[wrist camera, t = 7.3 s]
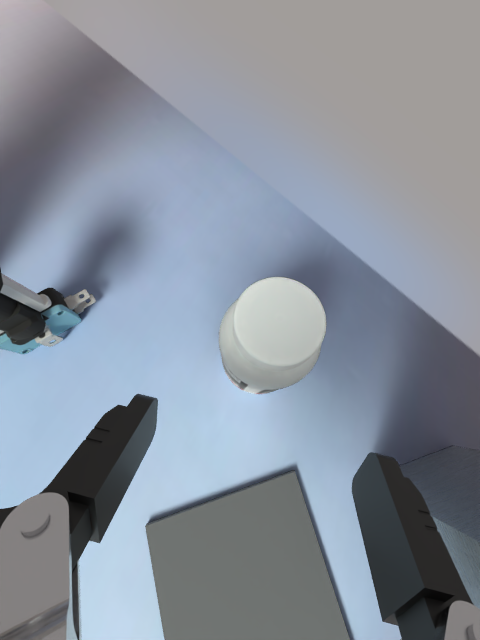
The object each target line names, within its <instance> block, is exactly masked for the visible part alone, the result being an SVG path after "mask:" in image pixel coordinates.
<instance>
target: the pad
mask: <svg viewBox="0 0 480 640" xmlns="http://www.w3.org/2000/svg"><path fill="white" fill-rule="evenodd" d="M145 527H146V533H147V539H148V545H149V550H150V556H151V562H152V568H153V574H154V580H155V586H156V592H157V597H158V603H159V609H160V615H161V621H162V627H163V633H164V639H165V640H350V638H349V635H348V632H347V629H346V626H345V623H344V620H343V617H342V614H341V611H340V608H339V605H338V601H337V598H336V595H335V592H334V589H333V586H332V583H331V580H330V577H329V574H328V571H327V568H326V565H325V562H324V559H323V556H322V553H321V550H320V546H319V543H318V540H317V537H316V534H315V531H314V528H313V525H312V522H311V519H310V516H309V513H308V510H307V507H306V504H305V501H304V498H303V494H302V491H301V488H300V485H299V482H298V479H297V476H296V473H295V471H294V470H292V471H290V472H287V473H284V474H281V475H279V476H276V477H273V478H270V479H268V480H265V481H262V482H259V483H257V484H254V485H251V486H248V487H246V488H243V489H240V490H237V491H235V492H232V493H229V494H226V495H224V496H221V497H218V498H215V499H213V500H210V501H207V502H204V503H202V504H199V505H196V506H193V507H191V508H188V509H185V510H182V511H180V512H177V513H174V514H171V515H169V516H166V517H163V518H160V519H158V520H155V521H152V522H150V523H147V524H146V526H145Z"/></svg>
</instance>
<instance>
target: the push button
mask: <svg viewBox="0 0 480 640" xmlns="http://www.w3.org/2000/svg"><path fill="white" fill-rule="evenodd" d="M81 294H84V298H82V299H80V298H79V296H80V295H81ZM87 299H90V302H89V303H86V300H87ZM95 302H96V300H95V298H94V297H93V295H92V294H90V295H89V293H88V292H87V290H85V289H84V290H82V291H80V292H79V293H77V294H75V295H73V296H72V295H70V296H68V297H66V298H64V297H63V295H62V294H61V293H59V292H58V291H56V290H55V289H53V288H47V289H45V290H43V291H41V292H39V293H37V294H36V293H35V292H33V291H31V290H30V289H28V288H26V287H24V286H23V285H21V284H19V283H17V282H16V281H14V280H12V279H10V278H9V277H7V276H5V275H3V274H2V273H1V269H0V349H4V350H8V351H12V352H16V353H19V354H27V353H29V352H31V351H32V350H33V349H35V348H37V347H39V346H40V345H45V346H48V347H51V346H54V345H55V344H57V343H59V342H60V341H62V340H63V338H61V337H59V336H57V335H59V334H61V333H63V332H64V331H66V330H68V329H69V328H71V327H73V326H75V325H76V324H78V323H80V322H81V318H80V317H79V315H78V314H79V313H81V312H83V311H84V308H86V307H88V306H90V305H91V304H93V303H95ZM51 340H56V341H55V342H52V343H49V342H50V341H51Z"/></svg>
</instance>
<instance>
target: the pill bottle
mask: <svg viewBox="0 0 480 640" xmlns="http://www.w3.org/2000/svg"><path fill="white" fill-rule="evenodd" d="M325 333H326V315H325V311H324V309H323V306H322V304H321V302H320V300H319V299H318V297H317V296H316V295H315V294H314V292H313V291H312V290H310V289H309V288H308V287H307V286H305V285H304V284H302V283H300V282H298V281H296V280H293V279H289V278H285V277H270V278H265V279H262V280H260V281H257V282H255V283H253V284H252V285H251V286H249V287H248V288H247V289H246V290H245V291H244V292H243V293H242V294H241V296H240V297H239V299H237V300H236V301H235V302H234V303H233V304H232V305H231V306H230V307H229V309H228V310H227V312H226V313H225V315H224V317H223V319H222V322H221V325H220V330H219V348H220V352H221V357H222V363H223V367H224V370H225V372H226V374H227V376H228V378H229V379H230V380H231V382H232V383H233V384H234V385H235V386H237V387H238V388H240V389H241V390H243V391H245V392H248V393H253V394H265V393H269V392H273V391H275V390H278V389H282V388H286V387H288V386H291V385H294V384H295V383H297V382H299V381H300V380H301V379H303V378H304V377H305V376H306V375H307V374H308V373H309V372H310V371H311V370H312V368H313V367H314V365H315V364H316V362H317V359H318V357H319V354H320V350H321V344H322V341H323V339H324V336H325Z"/></svg>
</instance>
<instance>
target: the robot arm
mask: <svg viewBox="0 0 480 640" xmlns="http://www.w3.org/2000/svg"><path fill="white" fill-rule="evenodd" d="M157 406H158V400H157V398H153V397H149V396H145V395H141V394H136V395H135V396H134V398H133V399H132V400H131V402H130V403H129V405H128V406H127V407H126V406H122V405H117V406H116V407H114V408H113V409H111V410H110V411H108V412H107V413H105V414H104V415H103V417H102V418H101V419H100V420H99V422H98V423H97V424H96V426H95V428H94V429H92V431H91V432H90V433H89V435H88V436H87V437H86V440H84V441H83V442H82V443H81V445H80V446H79V447H78V449H77V450H76V451H75V452H74V454H73V455H72V456H71V457H70V459H69V460H68V461H67V463H66V464H65V465H64V466H63V468H62V469H61V470H60V472H59V473H58V474H57V475H56V477H55V478H54V479H53V480H52V482H51V483H50V484H49V485H48V486H47V487H46V488H45V489H44V490H43V491H42V492H41V493H40V494H38V495H36V496H33V497H31V498H29V499H27V500H25V501H24V502H22V503H21V504H20V505H18V506H14V507H11V508H5V509H0V640H81V610H80V578H79V558H80V556H81V555H82V553H83V551H84V549H85V547H86V545H87V544H88V542H89V540H90V541H93V542H97V543H100V542H101V540H102V538H103V536H104V534H105V532H106V530H107V528H108V526H109V524H110V522H111V520H112V518H113V516H114V514H115V512H116V510H117V508H118V507H119V505H120V503H121V501H122V499H123V497H124V495H125V493H126V491H127V489H128V487H129V485H130V483H131V481H132V479H133V477H134V475H135V473H136V471H137V469H138V467H139V465H140V463H141V462H142V460H143V458H144V456H145V454H146V452H147V450H148V448H149V446H150V444H151V442H152V439H153V437H154V434H155V430H156V423H157ZM352 494H353V499H354V503H355V507H356V511H357V516H358V520H359V524H360V528H361V532H362V537H363V541H364V545H365V549H366V554H367V558H368V562H369V566H370V570H371V575H372V579H373V583H374V587H375V592H376V596H377V600H378V604H379V608H380V613H381V617H382V621H383V622H386V623H390V624H394V625H397V626H399V630H400V633H401V637H402V638H401V639H400V640H480V609H479V608H477V607H476V606H474V604H473V602H472V601H471V599H470V597H469V595H468V593H467V591H466V589H465V586H464V584H463V582H462V580H461V578H460V576H459V573H458V571H457V569H456V567H455V565H454V563H453V561H452V558H451V556H450V554H449V552H448V550H447V548H446V545H445V543H444V541H443V539H442V537H441V535H440V533H439V532H438V531H437V526H436V524H435V522H434V520H433V517H432V516H430V511H429V509H428V507H427V505H426V502H425V500H424V498H423V496H422V494H421V493H420V492H419V490H418V489H417V488H416V486H415V485H414V484H413V483H412V481H411V480H410V479H409V478H407V477H404V476H403V474H402V471H401V469H400V467H399V465H398V462H397V461H396V460H395V459H394V458H393V457H389V456H385V455H381V454H377V453H373V452H371V453H369V454H368V455H367V457H366V459H365V460H364V462H363V463H362V465H361V466H360V468H359V469H358V471H357V473H356V474H355V476H354V478H353V482H352Z"/></svg>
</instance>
